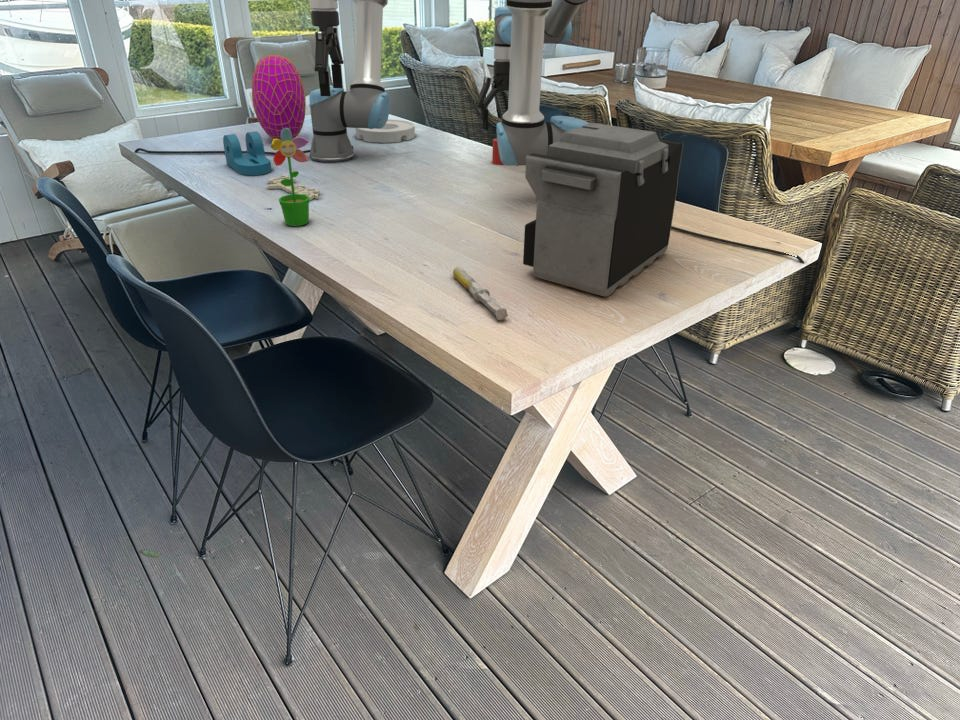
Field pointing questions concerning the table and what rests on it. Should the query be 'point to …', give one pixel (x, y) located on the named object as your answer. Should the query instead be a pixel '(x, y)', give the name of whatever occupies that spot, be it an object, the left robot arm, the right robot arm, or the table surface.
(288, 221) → the potted flower
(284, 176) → the decorative sign
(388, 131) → the ashtray
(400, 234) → the table surface
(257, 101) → the decorative egg
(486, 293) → the syringe
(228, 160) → the camera mount
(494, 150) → the canister
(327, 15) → the left robot arm
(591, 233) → the grey cooler box
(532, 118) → the right robot arm
